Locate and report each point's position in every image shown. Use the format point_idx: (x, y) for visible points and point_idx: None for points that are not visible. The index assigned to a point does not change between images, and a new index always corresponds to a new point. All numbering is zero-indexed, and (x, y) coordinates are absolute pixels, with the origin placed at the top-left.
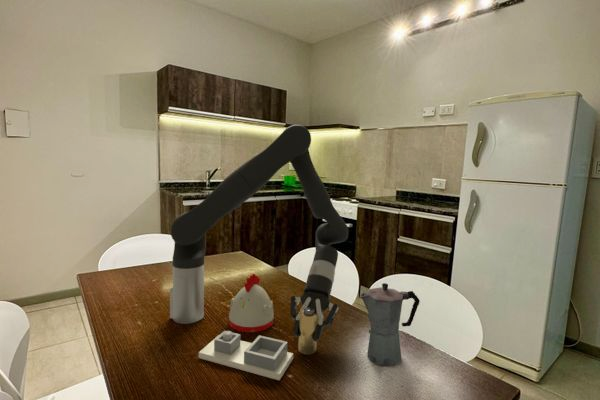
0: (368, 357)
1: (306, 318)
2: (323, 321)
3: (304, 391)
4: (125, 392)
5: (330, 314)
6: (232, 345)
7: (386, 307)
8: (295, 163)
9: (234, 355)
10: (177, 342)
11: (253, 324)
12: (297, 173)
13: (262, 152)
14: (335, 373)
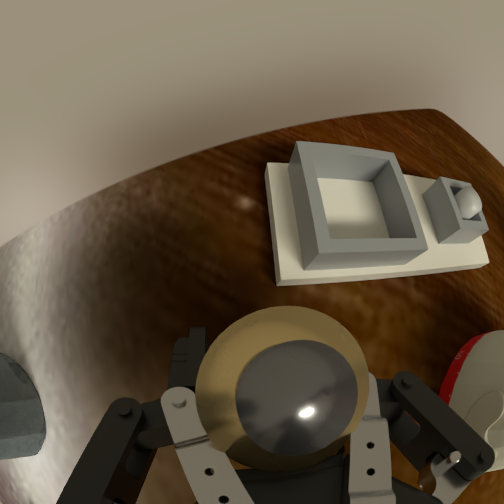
0: (35, 391)
1: (276, 308)
2: (161, 422)
3: (183, 165)
4: (434, 111)
5: (102, 460)
6: (437, 189)
7: None
8: None
9: (415, 195)
10: (501, 224)
11: (474, 354)
12: None
13: None
14: (110, 270)
